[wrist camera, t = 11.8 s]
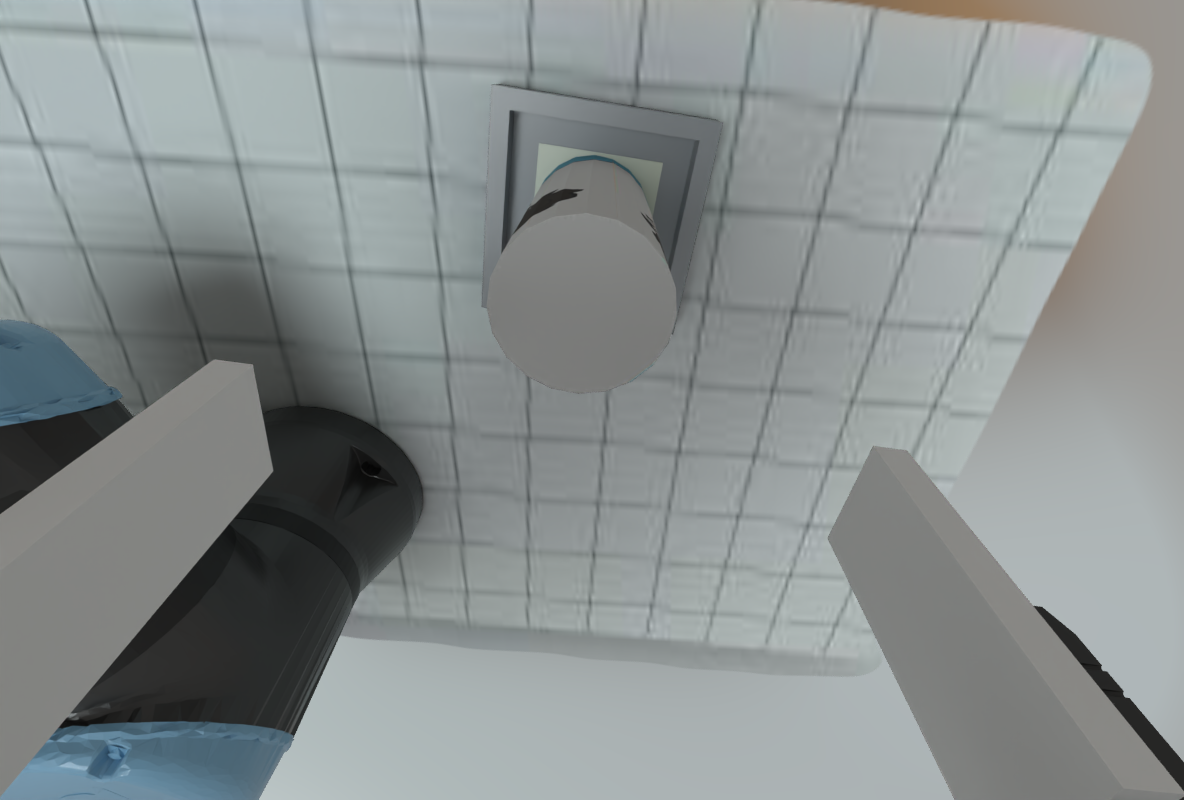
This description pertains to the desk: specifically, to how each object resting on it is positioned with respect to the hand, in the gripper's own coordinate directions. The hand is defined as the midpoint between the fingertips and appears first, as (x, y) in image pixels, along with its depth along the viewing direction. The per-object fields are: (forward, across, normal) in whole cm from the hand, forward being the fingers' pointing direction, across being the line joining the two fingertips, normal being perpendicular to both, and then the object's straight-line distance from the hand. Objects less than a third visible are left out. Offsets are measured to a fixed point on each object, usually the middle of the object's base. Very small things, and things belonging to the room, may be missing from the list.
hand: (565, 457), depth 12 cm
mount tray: (+24, 0, 0) cm, 24 cm away
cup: (+24, 0, 0) cm, 24 cm away
